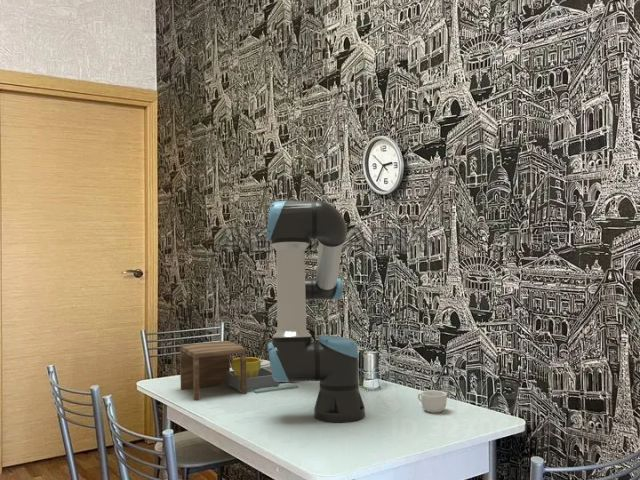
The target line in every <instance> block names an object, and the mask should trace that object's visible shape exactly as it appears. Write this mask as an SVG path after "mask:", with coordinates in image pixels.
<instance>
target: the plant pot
mask: <svg viewBox="0 0 640 480" xmlns="http://www.w3.org/2000/svg"><path fill="white" fill-rule="evenodd" d="M261 360H262V359H261V358H258V357H252V356H251V357H249V356H248V357H247V356H246V378H252V377H257V376H258V371H259V370H260V368H261ZM231 371H234V375H235V376H237V377H239V378H241V364H240V357H236V358H233V359H231Z"/></svg>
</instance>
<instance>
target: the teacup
mask: <svg viewBox="0 0 640 480" xmlns="http://www.w3.org/2000/svg"><path fill="white" fill-rule="evenodd" d="M447 398H448V393H447V392H445V391H442V390H433V389H429V390H422V391H421V392H420V393H419V394H418V396H417V399H418V401H419V402H420V403H421V405H422V408H423V409H424V411H425V412H427V413H430V412H431V414H439V413H442V412H443V411H444V410H445V409H446V407H447V403H448V402H447Z"/></svg>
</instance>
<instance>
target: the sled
mask: <svg viewBox="0 0 640 480" xmlns="http://www.w3.org/2000/svg"><path fill="white" fill-rule="evenodd" d="M226 383H228V384H227V385H229V386H231V387H233V388H235V390H238V391H239V392H241V378H239V377H237V376H235V375H234V370H230V371H227V372H226ZM246 387H247V391H251V390H252V391H254V390H260V389H267V388H275V387H280V382H277V381H275V380H274V379H273V377H272V371H270V370H268V369H266V368H264V367H262V368H260V370H259V371H258V376H257V377H252V378H246Z"/></svg>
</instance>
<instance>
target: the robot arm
mask: <svg viewBox="0 0 640 480" xmlns="http://www.w3.org/2000/svg"><path fill="white" fill-rule="evenodd" d="M267 219H268V220H267V227H266V240H268V241H270V243H271V244H270V245H271V247H272V248H273V249H274V250H275V251H276V253H275V254H276V304H277V305H276V309H277V311H276V312H277V314H276V315H277V317H276V319H277V330H276V332H275V333H274V334H273V335H272V341H270V342H269V343H267V348H268V357H269V361H270V365H271V371H272V377H273V379H274V380H275V381H277V382H279V383H294V382H295V383H296V382H302V383H303V382H319V389H318V395H317V398H316V401H315V404H314V408H313V417H315V419H317V420H319V421H323V422H328V423H349V422H355V421H358V420H362V419H363V418H364V417H365V416H366V408H365V405H364V402H363V398H362V396H361V392H360V388H359V387H360V386H359V357H360V354H359V347H358V344H357V342H356V341H355V340H354V339H352V338H349V337H345V336H336V335H320V336H319V337H318V341H317V340H316V341H312V335H311V333H310V332H309V331H308V330H307V309H306V308H307V307H306V306H307V302H306V301H313V300H315V301H317V300H318V301H319V300H320V301H323V300H324V301H325V300H329V301H333V300H340V299H341V298H342V297H343V280H342V279H341V278H339V273H340V263H341V255H342V247H343V244H344V243H345V242H346V239H347V235H348V227H347V224H346V220H345V218H344V216H343V215H342V213H341V212H340V211H339V210H338V209H337V208H336V207H335V206H333V205H332V204H331V203H329V202H327V201H324V200H281V201H279V200H278V201H274V202H272V203H271V204H270V206H269V211H268V218H267ZM316 239H317V242H318V248H317V249H318V250H317V262H316V274H315V276H316V278H306V267H305V266H306V260H305V257H306V256H305V253H306V250H307V248H308V247H309V246H310V240H316Z"/></svg>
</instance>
